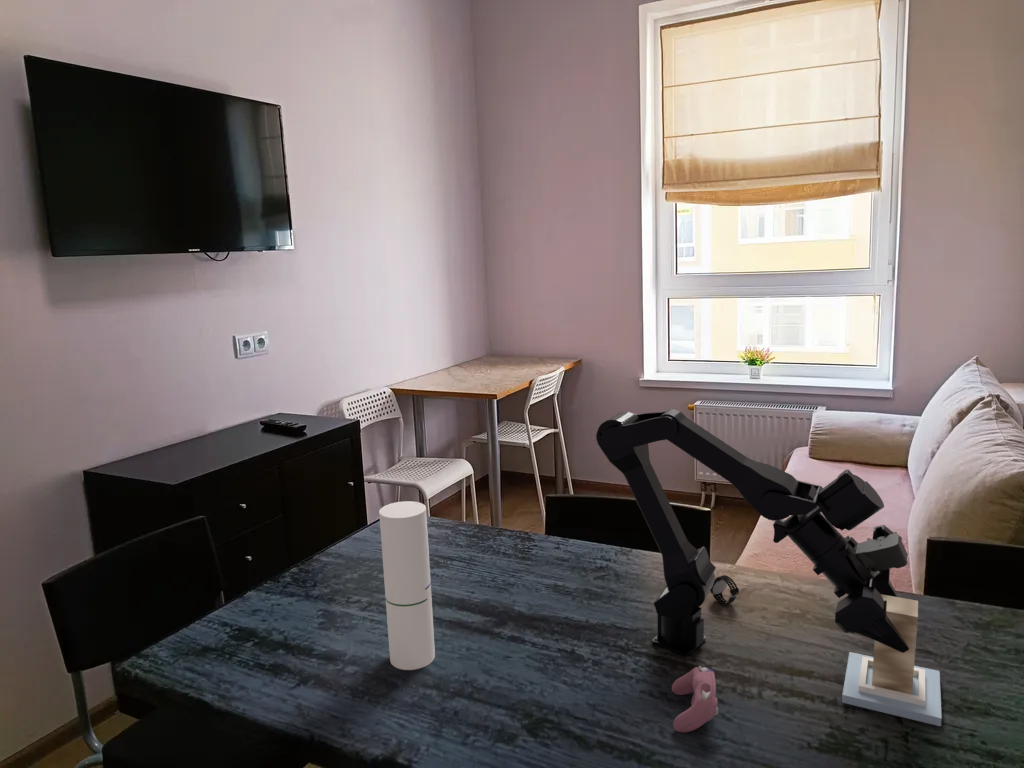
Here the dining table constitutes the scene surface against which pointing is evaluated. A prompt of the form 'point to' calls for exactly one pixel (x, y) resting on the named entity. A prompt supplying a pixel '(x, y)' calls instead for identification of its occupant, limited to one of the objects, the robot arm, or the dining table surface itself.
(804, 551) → the robot arm
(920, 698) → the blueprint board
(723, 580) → the smartwatch
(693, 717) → the video game controller
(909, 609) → the maple pillar
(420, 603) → the cylindrical container
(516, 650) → the dining table surface
